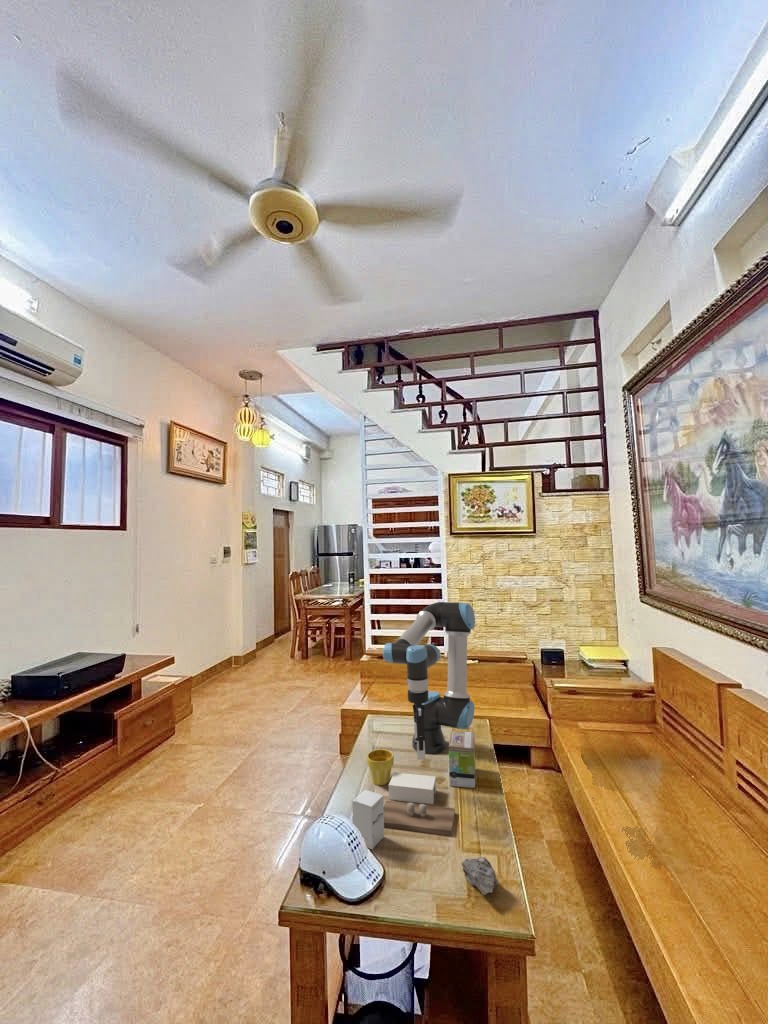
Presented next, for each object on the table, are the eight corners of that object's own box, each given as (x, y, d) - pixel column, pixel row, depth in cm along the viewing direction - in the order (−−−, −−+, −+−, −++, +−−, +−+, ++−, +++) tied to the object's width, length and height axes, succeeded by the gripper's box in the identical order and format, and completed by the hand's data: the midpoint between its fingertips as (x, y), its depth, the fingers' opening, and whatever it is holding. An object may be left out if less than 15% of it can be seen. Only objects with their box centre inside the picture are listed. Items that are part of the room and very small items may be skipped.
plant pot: (391, 789, 165) (390, 762, 165) (364, 787, 167) (364, 760, 167) (396, 775, 175) (395, 749, 175) (371, 773, 177) (370, 748, 177)
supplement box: (372, 851, 131) (371, 807, 132) (352, 842, 135) (351, 800, 136) (385, 836, 138) (384, 794, 139) (365, 829, 142) (364, 788, 143)
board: (386, 804, 155) (386, 791, 155) (454, 813, 149) (454, 799, 149) (377, 826, 143) (377, 811, 143) (451, 836, 137) (450, 820, 138)
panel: (394, 786, 167) (394, 772, 167) (436, 790, 163) (435, 776, 163) (388, 799, 158) (388, 784, 158) (432, 804, 154) (432, 789, 155)
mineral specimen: (489, 904, 117) (457, 903, 114) (482, 866, 124) (451, 864, 121) (509, 893, 112) (476, 892, 109) (500, 854, 119) (469, 852, 116)
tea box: (476, 788, 163) (474, 747, 165) (449, 786, 165) (447, 746, 167) (475, 768, 178) (474, 731, 179) (451, 766, 180) (449, 729, 181)
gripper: (406, 679, 173) (407, 735, 171) (409, 702, 148) (411, 767, 146) (425, 679, 173) (426, 734, 171) (431, 701, 148) (433, 766, 146)
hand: (419, 749), depth 159 cm, fingers open, 13 cm apart
